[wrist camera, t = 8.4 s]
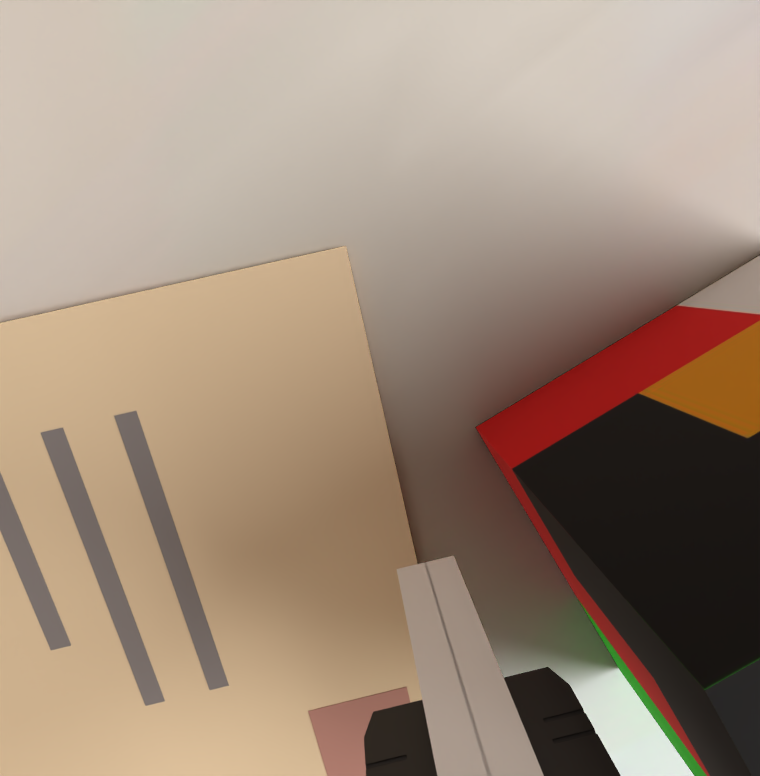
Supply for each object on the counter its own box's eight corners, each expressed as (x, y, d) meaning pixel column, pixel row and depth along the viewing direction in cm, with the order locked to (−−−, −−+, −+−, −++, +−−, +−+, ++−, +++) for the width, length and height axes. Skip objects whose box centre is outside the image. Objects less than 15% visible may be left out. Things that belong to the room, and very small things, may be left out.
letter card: (-261, 381, 14) (-275, 384, 13) (346, 246, 14) (345, 245, 14) (1, 894, 18) (-5, 905, 18) (465, 777, 18) (467, 785, 18)
